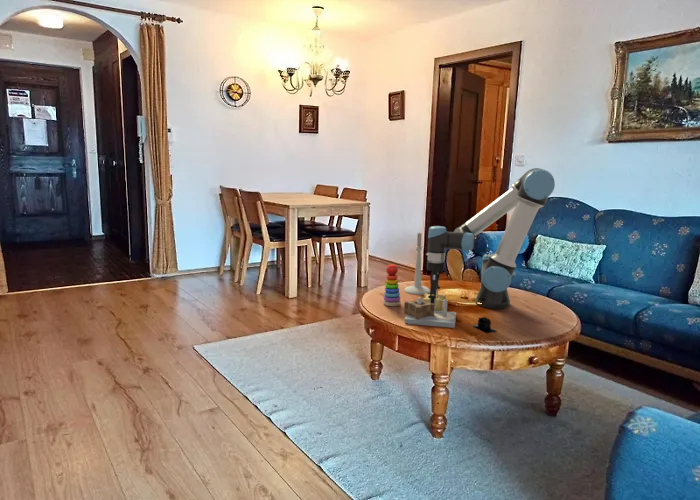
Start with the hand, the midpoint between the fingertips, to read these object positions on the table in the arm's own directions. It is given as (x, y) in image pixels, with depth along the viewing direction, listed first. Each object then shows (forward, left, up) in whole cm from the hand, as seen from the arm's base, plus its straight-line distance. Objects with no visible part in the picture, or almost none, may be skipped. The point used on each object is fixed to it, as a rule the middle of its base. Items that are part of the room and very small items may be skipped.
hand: (433, 307), depth 225 cm
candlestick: (+10, -25, 0) cm, 27 cm away
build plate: (-22, +21, -1) cm, 30 cm away
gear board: (0, +17, 0) cm, 17 cm away
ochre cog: (0, 0, 0) cm, 0 cm away
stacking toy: (+19, 0, 0) cm, 19 cm away
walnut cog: (+5, +17, +2) cm, 18 cm away
